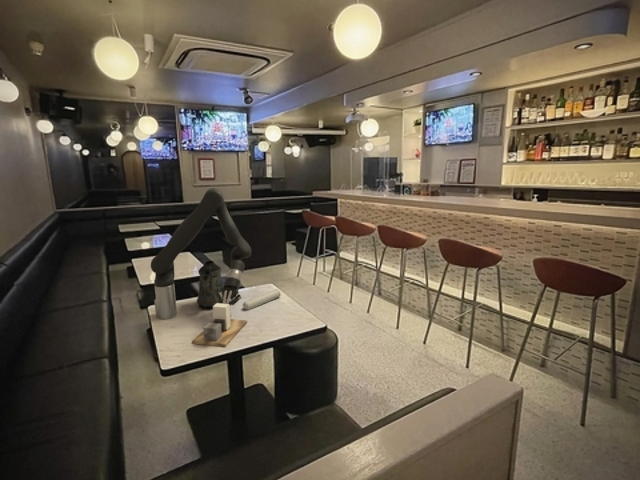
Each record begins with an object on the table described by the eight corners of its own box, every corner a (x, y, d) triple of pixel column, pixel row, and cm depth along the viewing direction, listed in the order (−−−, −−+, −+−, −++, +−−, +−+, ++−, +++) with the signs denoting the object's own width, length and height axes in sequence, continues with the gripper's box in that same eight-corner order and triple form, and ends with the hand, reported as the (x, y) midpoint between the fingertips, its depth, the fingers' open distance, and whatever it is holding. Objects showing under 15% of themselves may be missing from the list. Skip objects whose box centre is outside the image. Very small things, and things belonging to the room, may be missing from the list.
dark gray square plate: (214, 329, 166) (213, 319, 164) (215, 328, 167) (215, 318, 166) (224, 330, 165) (223, 320, 164) (225, 329, 166) (225, 319, 165)
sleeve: (214, 328, 167) (212, 306, 164) (218, 325, 171) (216, 303, 168) (227, 329, 166) (225, 307, 163) (230, 326, 170) (229, 304, 167)
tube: (248, 305, 190) (281, 291, 209) (241, 300, 192) (275, 287, 211) (246, 313, 192) (279, 299, 211) (240, 308, 194) (273, 294, 213)
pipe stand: (192, 343, 157) (191, 328, 156) (217, 320, 180) (216, 306, 179) (226, 346, 154) (225, 331, 153) (247, 322, 177) (246, 309, 176)
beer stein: (222, 296, 211) (220, 256, 206) (233, 308, 195) (231, 264, 190) (194, 302, 203) (190, 260, 198) (202, 314, 187) (199, 269, 182)
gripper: (218, 275, 176) (208, 308, 167) (243, 277, 174) (234, 310, 165) (223, 282, 183) (214, 314, 174) (248, 284, 180) (239, 316, 171)
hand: (224, 312), depth 169 cm, fingers closed
